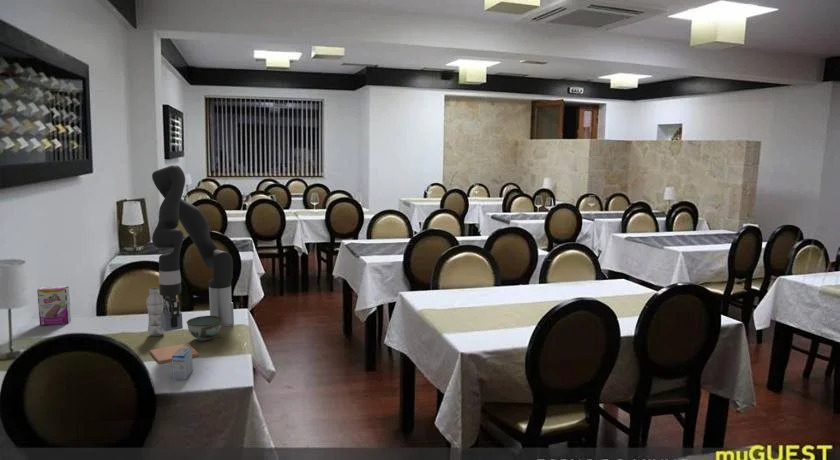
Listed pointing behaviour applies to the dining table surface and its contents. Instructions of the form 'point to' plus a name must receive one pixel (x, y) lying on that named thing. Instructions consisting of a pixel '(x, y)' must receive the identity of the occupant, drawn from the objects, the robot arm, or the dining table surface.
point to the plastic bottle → (155, 312)
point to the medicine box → (182, 363)
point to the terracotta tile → (170, 352)
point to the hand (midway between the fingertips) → (172, 324)
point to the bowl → (204, 327)
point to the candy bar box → (54, 305)
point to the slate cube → (167, 321)
